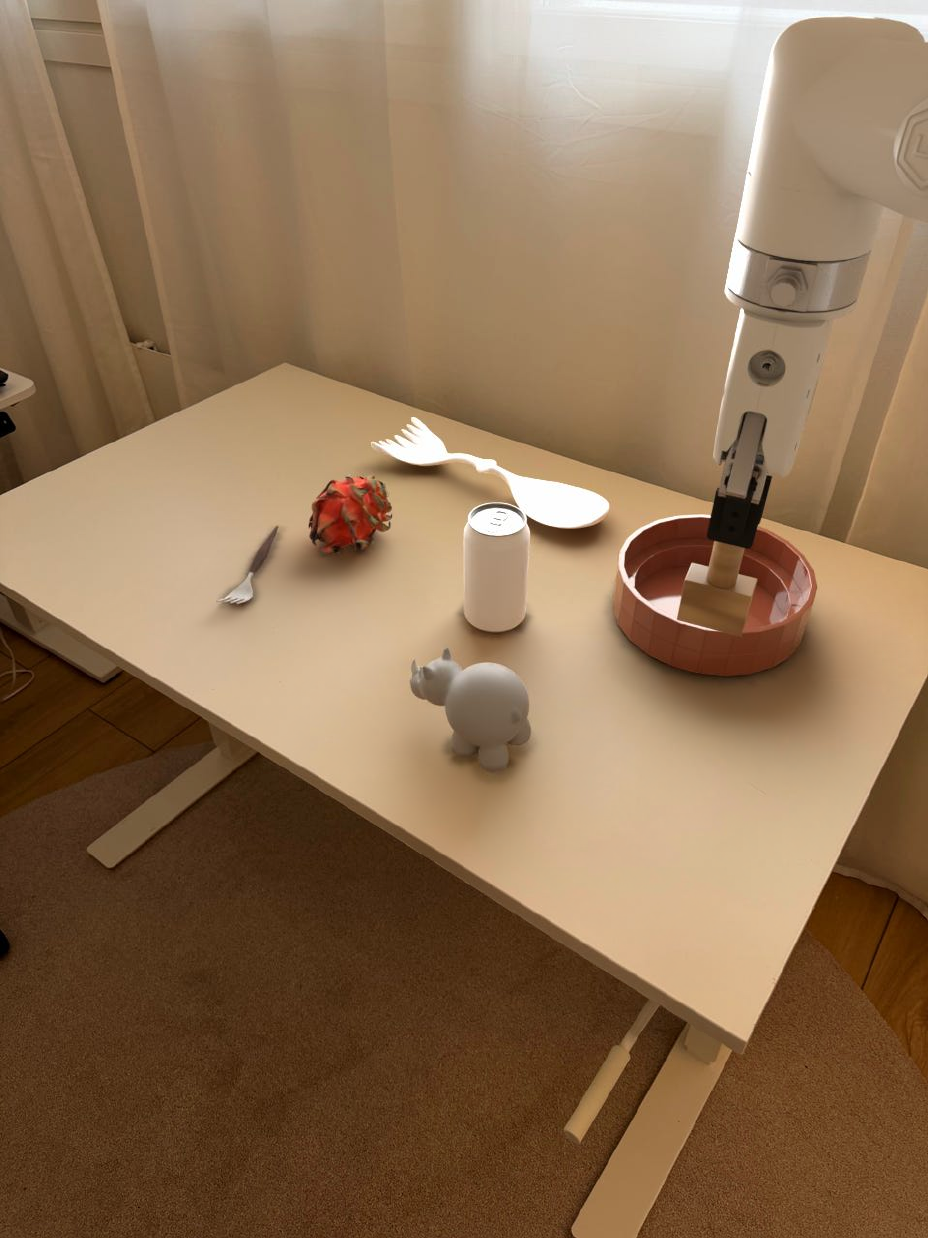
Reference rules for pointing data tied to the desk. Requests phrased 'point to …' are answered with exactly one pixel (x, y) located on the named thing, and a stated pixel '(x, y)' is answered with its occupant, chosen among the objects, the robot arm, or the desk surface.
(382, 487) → the dragon fruit
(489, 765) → the chubby cartoon animal
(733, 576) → the wooden stamp
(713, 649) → the bowl
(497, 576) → the can
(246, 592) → the fork
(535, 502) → the spoon
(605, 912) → the desk surface
